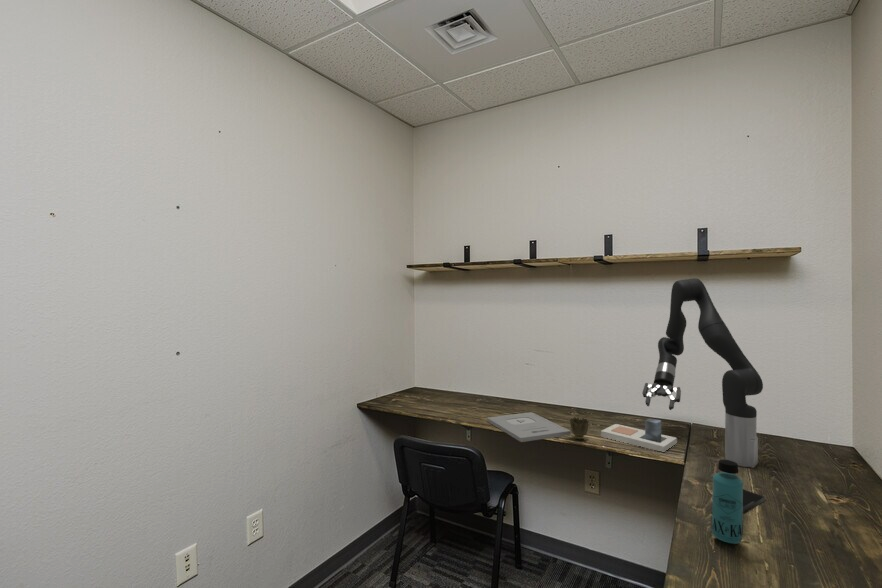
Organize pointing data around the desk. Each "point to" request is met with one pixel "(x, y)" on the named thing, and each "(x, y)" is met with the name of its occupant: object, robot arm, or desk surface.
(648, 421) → the blue block
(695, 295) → the robot arm
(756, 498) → the phone
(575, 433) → the dark brown textured piece
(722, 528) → the beverage bottle
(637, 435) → the puzzle board
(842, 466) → the desk surface
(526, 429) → the award plaque
